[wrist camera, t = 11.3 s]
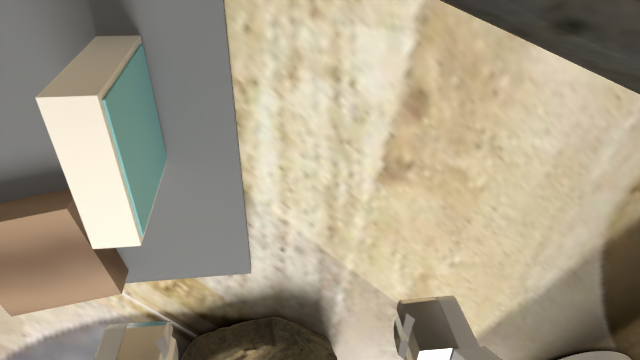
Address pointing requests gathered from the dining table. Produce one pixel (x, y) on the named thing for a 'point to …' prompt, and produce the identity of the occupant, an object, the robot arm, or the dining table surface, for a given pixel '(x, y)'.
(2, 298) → the walnut block
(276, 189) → the dining table surface
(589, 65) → the vintage camera
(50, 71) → the mat
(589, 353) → the robot arm
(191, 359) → the stone
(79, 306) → the dining table surface
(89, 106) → the box
